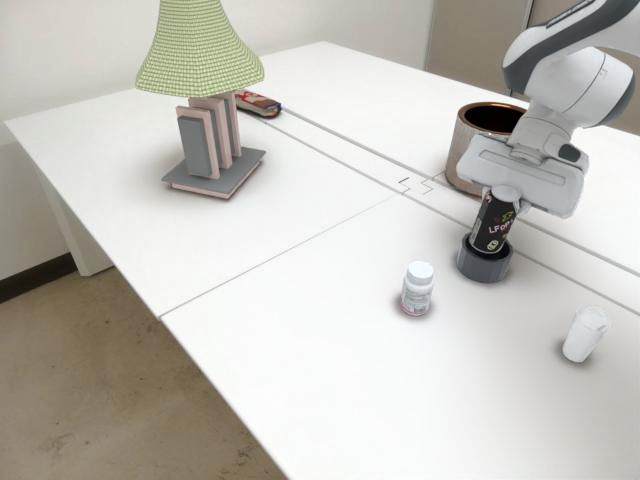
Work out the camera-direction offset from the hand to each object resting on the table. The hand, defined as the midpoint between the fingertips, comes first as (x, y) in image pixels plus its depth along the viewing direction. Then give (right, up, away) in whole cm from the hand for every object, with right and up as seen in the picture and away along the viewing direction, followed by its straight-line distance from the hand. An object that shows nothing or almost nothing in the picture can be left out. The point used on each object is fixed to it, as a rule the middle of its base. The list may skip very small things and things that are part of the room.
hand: (494, 219), depth 77 cm
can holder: (0, -8, +7) cm, 11 cm away
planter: (+9, +11, +31) cm, 34 cm away
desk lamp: (-54, +12, +32) cm, 64 cm away
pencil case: (-50, +36, +62) cm, 87 cm away
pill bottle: (-14, -15, 0) cm, 20 cm away
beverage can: (0, -4, +5) cm, 6 cm away
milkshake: (+9, -21, -8) cm, 24 cm away
